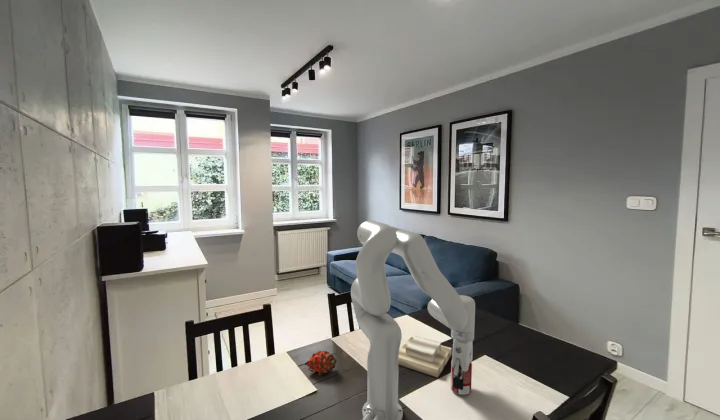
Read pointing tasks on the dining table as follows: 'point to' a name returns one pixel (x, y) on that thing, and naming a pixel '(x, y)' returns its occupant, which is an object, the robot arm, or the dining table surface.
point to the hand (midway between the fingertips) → (460, 381)
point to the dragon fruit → (321, 362)
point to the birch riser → (424, 355)
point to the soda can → (466, 382)
